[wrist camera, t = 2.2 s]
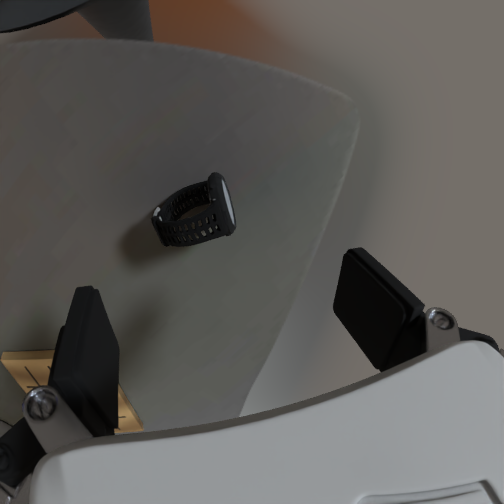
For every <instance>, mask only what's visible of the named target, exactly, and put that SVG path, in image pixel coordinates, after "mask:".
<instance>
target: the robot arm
mask: <svg viewBox="0 0 504 504" xmlns="http://www.w3.org/2000/svg"><path fill="white" fill-rule="evenodd" d="M424 306H425V305H424V304H423V303H422V302H421V301H420V300H419V299H418V298H417V297H416V296H415V295H414V294H413V293H412V292H411V291H410V290H408V288H407V287H405V286H404V285H403V284H402V283H401V282H400V281H399V280H398V279H397V278H396V277H395V276H394V275H392V274H391V273H390V272H389V271H388V270H387V269H386V268H385V267H384V266H383V265H381V264H380V263H379V262H378V261H377V260H376V259H375V258H374V257H372V256H371V255H370V254H369V253H368V252H367V251H366V250H364V249H363V248H353V249H349V250H348V251H347V253H345V254H344V256H343V261H342V266H341V271H340V276H339V280H338V285H337V290H336V294H335V299H334V303H333V310H334V313H335V314H336V316H337V317H338V318H339V320H340V321H341V322H342V324H343V325H344V326H345V328H346V329H347V331H348V332H349V333H350V335H351V336H352V337H353V339H354V340H355V341H356V343H357V344H358V345H359V347H360V348H361V350H362V351H363V352H364V354H365V355H366V356H367V358H368V359H369V360H370V362H371V363H372V365H373V366H374V367H375V368H376V369H379V370H380V372H381V373H379V374H376V375H374V376H371V377H369V378H366V379H364V380H361V381H359V382H356V383H353V384H351V385H348V386H346V387H343V388H340V389H337V390H334V391H331V392H328V393H325V394H323V395H320V396H317V397H313V398H310V399H307V400H304V401H301V402H297V403H294V404H291V405H287V406H283V407H280V408H276V409H272V410H269V411H264V412H260V413H256V414H252V415H248V416H243V417H239V418H234V419H229V420H224V421H219V422H214V423H208V424H202V425H196V426H190V427H183V428H176V429H168V430H161V431H152V432H143V433H131V434H122V435H115V432H114V429H118V427H119V415H118V377H119V345H118V342H117V339H116V337H115V334H114V332H113V329H112V326H111V324H110V321H109V319H108V316H107V313H106V310H105V308H104V305H103V302H102V299H101V296H100V293H99V291H98V289H94V288H93V287H92V286H84V287H77V288H76V290H75V294H74V297H73V300H72V303H71V306H70V310H69V313H68V317H67V320H66V324H65V326H62V327H61V329H60V332H59V336H58V339H57V343H56V347H55V351H54V356H53V360H52V364H51V369H50V374H49V378H48V384H47V385H41V386H37V387H35V388H33V389H31V390H30V391H29V392H28V393H27V395H26V396H25V398H24V400H23V404H22V411H23V414H24V417H23V418H22V419H21V420H20V421H18V422H17V423H16V424H15V425H14V426H13V427H12V428H11V429H9V430H8V431H7V432H6V433H5V434H4V435H3V436H1V437H0V504H504V350H503V349H500V351H499V348H498V345H497V343H496V342H495V340H494V339H493V338H492V337H490V336H487V335H485V334H481V333H477V332H474V331H470V330H467V329H462V328H459V327H458V324H457V321H456V319H455V317H454V316H453V315H452V314H451V313H450V312H448V311H447V310H445V309H442V308H437V307H434V308H430V309H428V310H427V311H426V313H424V312H423V309H424Z"/></svg>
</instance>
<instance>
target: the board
mask: <svg viewBox="0 0 504 504" xmlns="http://www.w3.org/2000/svg"><path fill="white" fill-rule="evenodd" d="M54 351H55V350H42V351H16V352H3V354H2V357H1V362H2V363H3V364H4V366H5V367H6V368H7V370H8V371H9V372H10V374H11V375H12V376H13V377H14V379H15V380H16V381H17V382H18V384H19V385H20V386H21V387H22V388H23V390H24V391H25V392H26V393H28V392H29V391H30V390H31V389H33V388H35V387H37V386H41V385H47V384H48V378H49V374H50V369H51V364H52V360H53V356H54ZM118 415H119V427H118V429H114V432H115V433H120V432H136V431H143V423H142V422H141V420H140V419H139V417H138V415H137V414H136V412H135V411H134V409H133V407H132V406H131V404H130V402H129V401H128V399H127V397H126V396H125V394H124V392H123V391H122V389H121V387H120V385H119V384H118Z"/></svg>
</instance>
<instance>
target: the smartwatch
mask: <svg viewBox="0 0 504 504" xmlns="http://www.w3.org/2000/svg"><path fill="white" fill-rule="evenodd" d="M204 186H205V187H206V191H204ZM198 187H200V189H201V193H200V192H199V190H198ZM193 189H195V190H196V194H193ZM188 190H190V192H191V195H189V196H188ZM184 192H185V193H186V198H184V194H183V193H184ZM180 195H181V196H182V200H181V199H180ZM206 195H208V197H209V199H208V198H207V196H206ZM201 196H203V198H204V200H202V198H201ZM177 197H178V200H179V202H178V201H177ZM195 197H197V198H198V199H199V202H197V201H196V199H195ZM190 199H193V201H194V204H192V203H191V201H190ZM174 200H175V203H176V204H175V203H174ZM186 201H188V202H189V204H190V205H189V206H188V205H187V203H186ZM171 202H172V205H173V207H172V205H171ZM183 203H184V204H185V206H186V207H185V208H184V207H183V205H182V204H183ZM205 204H211V205H210V206H209V207H208V208H207V209H206V210H204V211H203V212H201V213H199V214H197V215H195V216H193V217H190V218H186V219H182V220H178V219H179V218H180V217H181V216H182V215H183V214H185V213H186V212H188V211H189V210H191V209H193V208H195V207H198V206H201V205H205ZM180 205H181V207H182V210H181V209H180ZM169 207H170V208H169ZM177 208H178V210H179V213H178V211H177ZM174 210H175V212H176V214H177V215H175V213H174ZM172 215H173V216H174V218H173V216H172ZM212 215H213V217H212ZM159 216H160V217H159ZM206 217H208V223H206ZM213 218H214V219H213ZM199 220H201V223H202V225H201V226H199V224H198V221H199ZM151 221H152V224H153V226H154V228H155V230H156V232H157V235H158V237H159V239H160V241H161V243H162V244H163V245H164V246H166V247H167V246H169V245H170V246H176V247H182V246H191V245H195V244H199V243H203V242H206V241H209V240H212V239H215V238H219V237H222V236H225V235H226V236H229V235H231V234H232V233H233V232H234V230H235V229H236V219H235V214H234V209H233V205H232V201H231V197H230V194H229V190H228V187H227V184H226V181H225V179H224V177H223V176H222V175H221V174H219V173H217V172H214V173H211V175H210V176H209V177H208V180H207V181H204V182H200V183H196V184H193V185H190V186H187V187H185V188H183V189H181V190H179V191H177V192H176V193H174V194H173V195H172V196H171V197H170V198H169V199H167V201H166V202H165V203H164V205H163V207H162V209H160V208H159V207H157V208H156V210H155V212H154V215H153V217H152V218H151ZM191 223H194V224H195V229H192V227H191ZM185 224H186V225H187V227H188V230H187V231H186V230H185V227H184V225H185ZM216 225H217V227H218V228H217V229H216V228H215V227H216ZM178 226H181V230H182V232H181V231H180V230H179V227H178ZM173 227H175V230H176V232H175V231H174V228H173ZM210 227H211V229H212V233H210V232H209V230H208V229H209V228H210ZM203 230H204V231H205V233H206V236H203V235H202V233H201V231H203ZM194 233H196V234H197V235H198V236H199V237H200V238H196V236H195V235H194ZM188 235H190V236H191V237H192V239H193V240H190V239H189V237H188ZM182 236H184V237H185V239H186V241H185V240H184V239H183V237H182ZM178 238H179V239H180V241H179V239H178Z"/></svg>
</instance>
